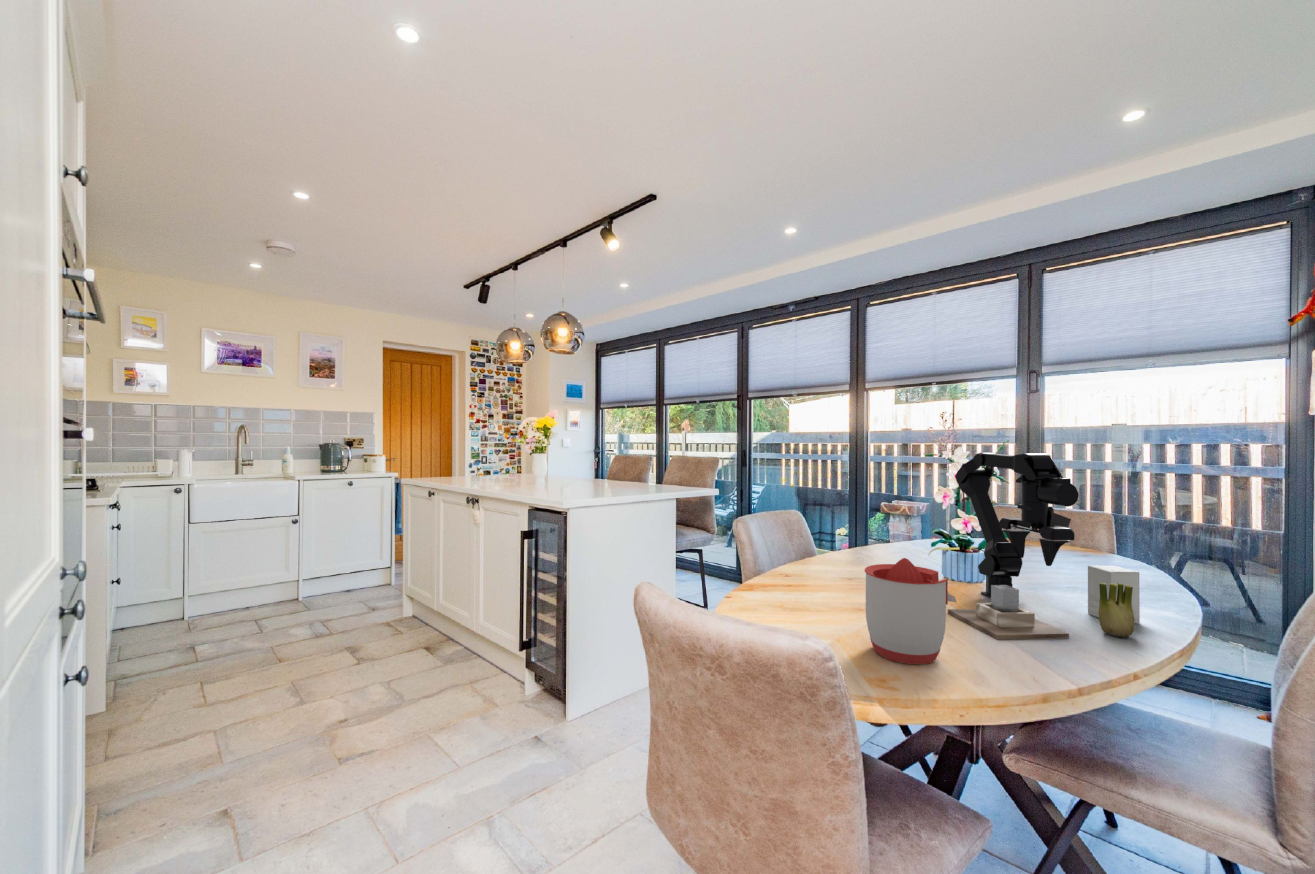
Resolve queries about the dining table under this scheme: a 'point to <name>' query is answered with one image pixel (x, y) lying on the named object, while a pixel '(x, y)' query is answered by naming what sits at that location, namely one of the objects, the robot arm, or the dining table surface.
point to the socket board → (1007, 623)
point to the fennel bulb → (1116, 610)
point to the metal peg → (1004, 598)
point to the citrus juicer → (906, 611)
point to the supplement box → (1108, 577)
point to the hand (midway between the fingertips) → (1034, 561)
